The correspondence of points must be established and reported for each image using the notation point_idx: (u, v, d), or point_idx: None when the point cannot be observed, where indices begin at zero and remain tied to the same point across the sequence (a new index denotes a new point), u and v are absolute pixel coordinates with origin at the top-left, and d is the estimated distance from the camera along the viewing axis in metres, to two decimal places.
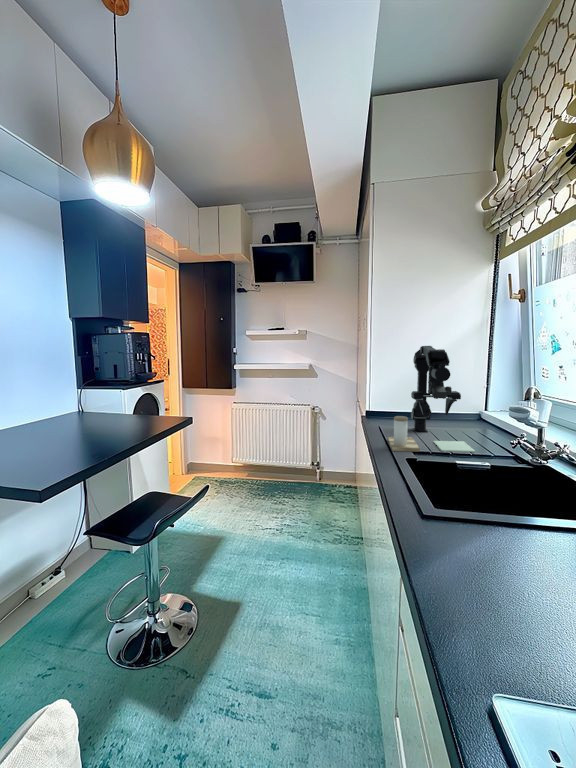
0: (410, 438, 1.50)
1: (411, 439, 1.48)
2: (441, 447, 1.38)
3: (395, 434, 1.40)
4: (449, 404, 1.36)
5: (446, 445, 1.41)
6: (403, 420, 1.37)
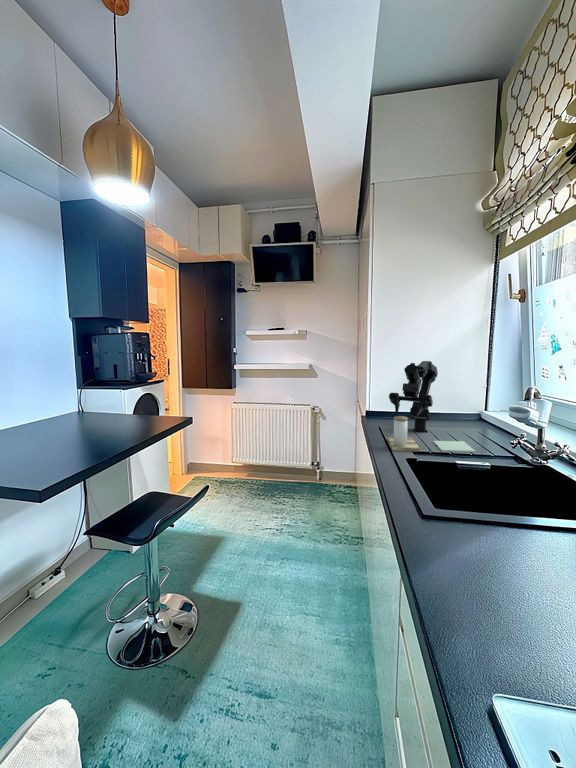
0: (410, 438, 1.50)
1: (411, 439, 1.48)
2: (441, 447, 1.38)
3: (395, 434, 1.40)
4: (420, 404, 1.45)
5: (446, 445, 1.41)
6: (403, 420, 1.37)
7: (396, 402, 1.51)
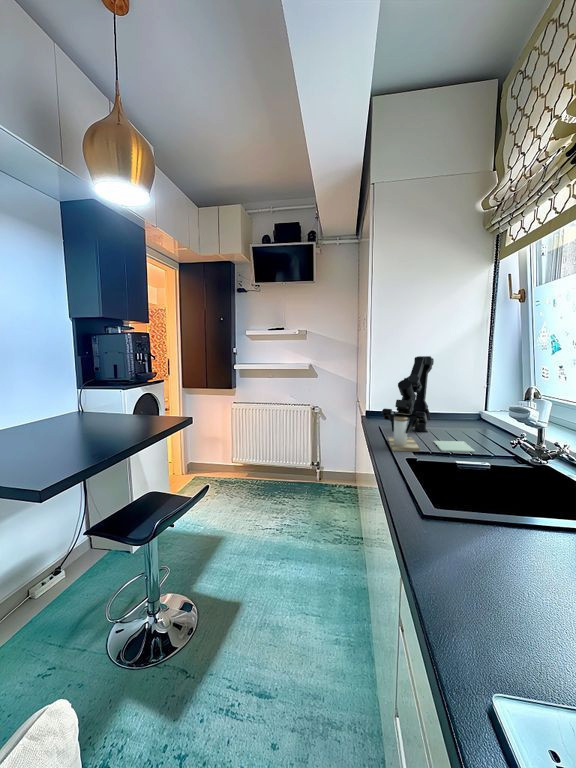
0: (410, 438, 1.50)
1: (411, 439, 1.48)
2: (441, 447, 1.38)
3: (395, 434, 1.40)
4: (410, 421, 1.39)
5: (446, 445, 1.41)
6: (403, 420, 1.37)
7: (393, 419, 1.43)
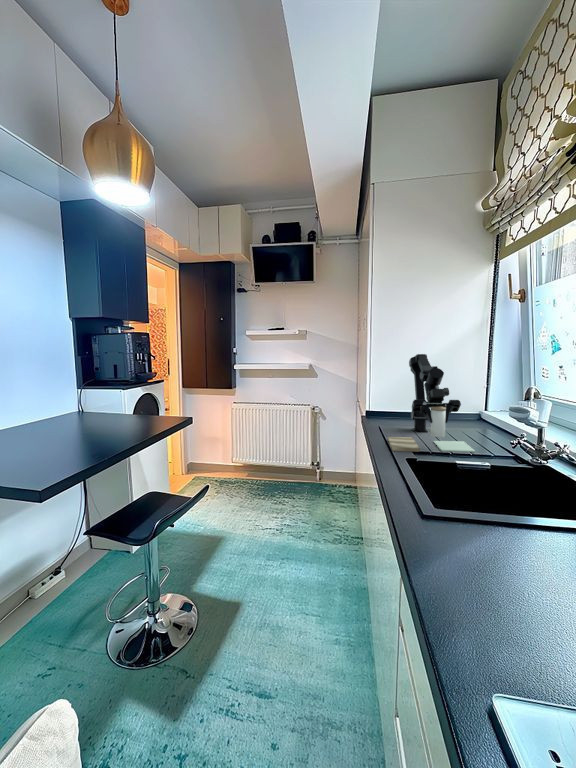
0: (410, 438, 1.50)
1: (411, 439, 1.48)
2: (441, 447, 1.38)
3: (435, 425, 1.33)
4: (447, 410, 1.35)
5: (446, 445, 1.41)
6: (444, 409, 1.32)
7: (428, 410, 1.36)
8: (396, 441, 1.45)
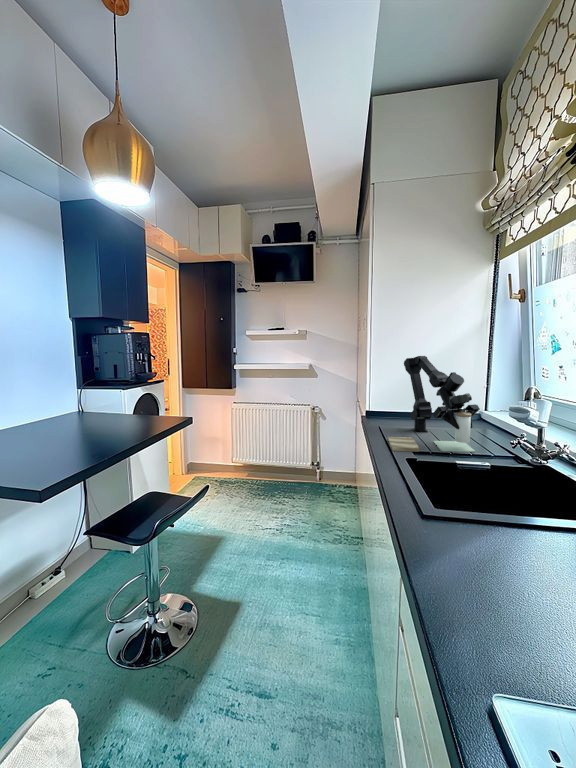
0: (410, 438, 1.50)
1: (411, 439, 1.48)
2: (441, 447, 1.38)
3: (463, 431, 1.33)
4: None
5: (446, 445, 1.41)
6: None
7: (453, 416, 1.36)
8: (396, 441, 1.45)
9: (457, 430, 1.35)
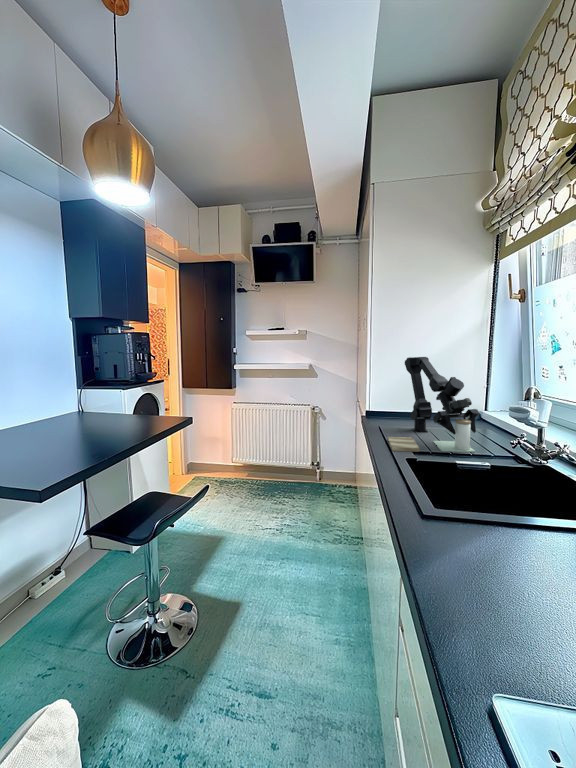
0: (410, 438, 1.50)
1: (411, 439, 1.48)
2: (441, 447, 1.38)
3: (463, 439, 1.34)
4: (472, 420, 1.37)
5: (446, 445, 1.41)
6: (470, 423, 1.34)
7: (449, 421, 1.36)
8: (396, 441, 1.45)
9: (457, 437, 1.35)
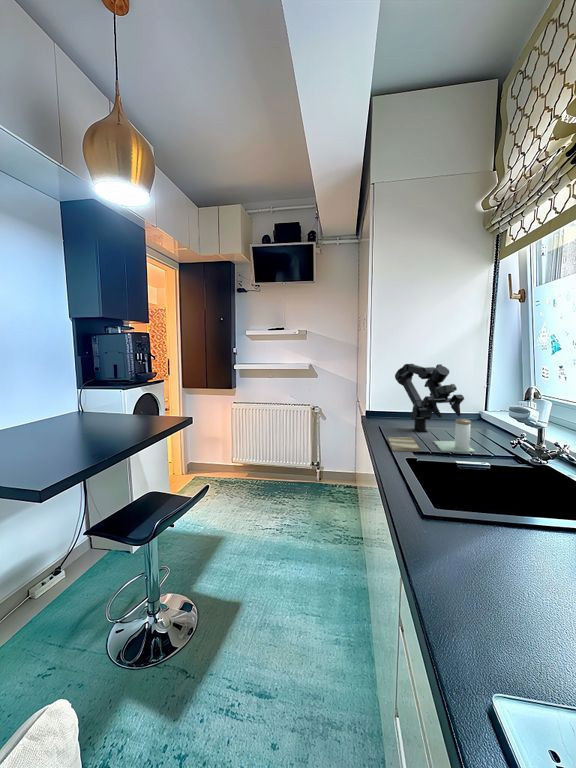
0: (410, 438, 1.50)
1: (411, 439, 1.48)
2: (441, 447, 1.38)
3: (463, 439, 1.34)
4: (457, 405, 1.46)
5: (446, 445, 1.41)
6: (470, 423, 1.34)
7: (436, 405, 1.45)
8: (396, 441, 1.45)
9: (457, 437, 1.35)
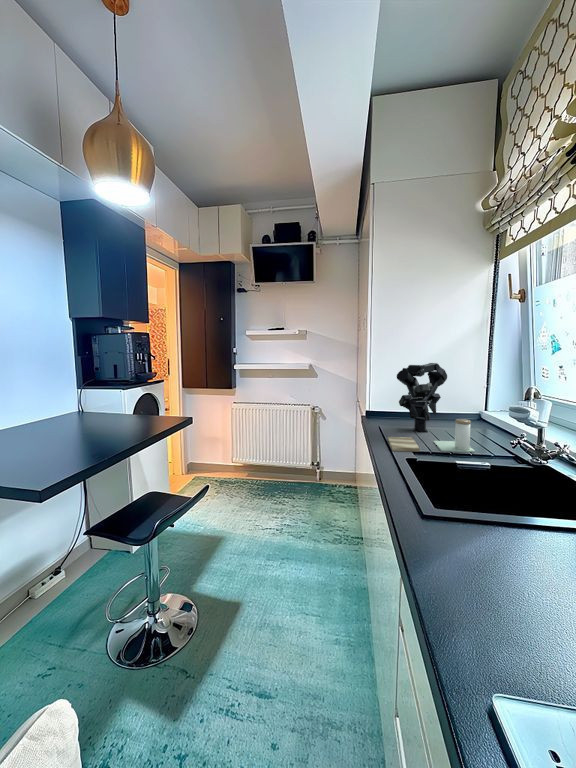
0: (410, 438, 1.50)
1: (411, 439, 1.48)
2: (441, 447, 1.38)
3: (463, 439, 1.34)
4: (434, 403, 1.51)
5: (446, 445, 1.41)
6: (470, 422, 1.34)
7: (412, 404, 1.50)
8: (396, 441, 1.45)
9: (457, 437, 1.35)
